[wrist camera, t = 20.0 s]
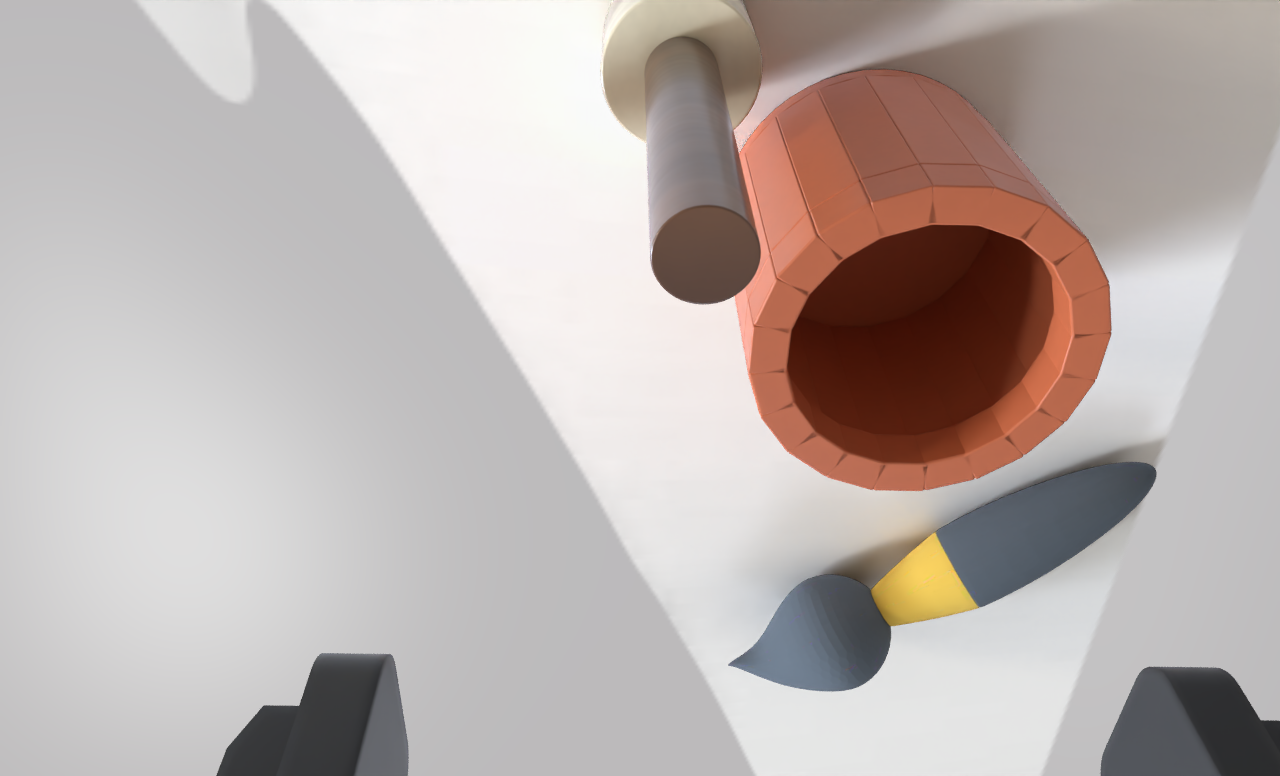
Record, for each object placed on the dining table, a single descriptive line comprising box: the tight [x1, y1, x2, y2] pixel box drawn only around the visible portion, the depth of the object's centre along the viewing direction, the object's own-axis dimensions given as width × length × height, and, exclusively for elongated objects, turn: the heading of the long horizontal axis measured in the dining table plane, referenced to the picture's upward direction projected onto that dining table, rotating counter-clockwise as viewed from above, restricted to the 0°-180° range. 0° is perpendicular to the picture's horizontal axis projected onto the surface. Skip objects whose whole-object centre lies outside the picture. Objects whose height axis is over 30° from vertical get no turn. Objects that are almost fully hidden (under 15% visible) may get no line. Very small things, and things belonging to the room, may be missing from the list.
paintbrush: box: [728, 462, 1156, 691], centre depth 44 cm, size 20×5×5 cm, turn 128°
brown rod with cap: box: [600, 0, 762, 304], centre depth 27 cm, size 5×5×16 cm
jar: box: [735, 69, 1111, 491], centre depth 33 cm, size 10×10×10 cm
